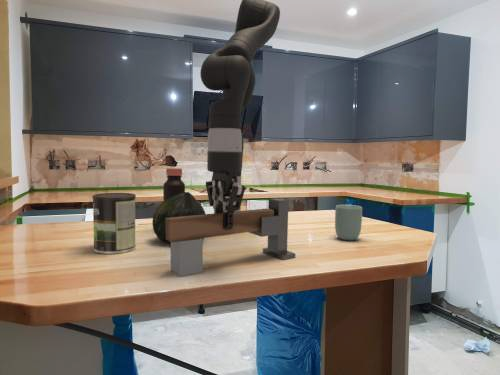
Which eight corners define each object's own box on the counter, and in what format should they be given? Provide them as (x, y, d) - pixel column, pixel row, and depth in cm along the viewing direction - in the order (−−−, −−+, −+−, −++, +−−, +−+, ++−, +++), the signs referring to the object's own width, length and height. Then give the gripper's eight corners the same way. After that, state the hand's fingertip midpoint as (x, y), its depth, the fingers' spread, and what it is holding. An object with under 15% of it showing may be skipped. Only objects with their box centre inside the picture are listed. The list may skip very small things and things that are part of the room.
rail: (165, 239, 76) (165, 218, 75) (266, 226, 90) (266, 208, 90) (171, 242, 73) (171, 220, 73) (273, 228, 88) (273, 210, 88)
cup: (362, 242, 106) (363, 208, 105) (334, 241, 107) (335, 207, 106) (359, 237, 113) (361, 205, 112) (333, 235, 115) (335, 204, 114)
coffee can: (93, 256, 88) (92, 197, 86) (93, 246, 97) (92, 193, 96) (138, 252, 92) (137, 196, 90) (134, 242, 101) (133, 192, 100)
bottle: (183, 227, 122) (183, 168, 121) (186, 232, 116) (186, 169, 114) (162, 228, 120) (162, 168, 118) (164, 233, 114) (164, 168, 112)
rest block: (170, 270, 78) (170, 237, 77) (192, 266, 81) (192, 235, 80) (180, 276, 74) (180, 242, 73) (202, 272, 77) (202, 239, 76)
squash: (149, 217, 110) (154, 183, 100) (197, 217, 116) (207, 184, 106) (152, 257, 101) (159, 224, 91) (205, 255, 107) (216, 223, 97)
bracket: (244, 255, 91) (245, 199, 89) (275, 250, 96) (276, 197, 95) (264, 263, 84) (265, 203, 83) (295, 257, 89) (297, 200, 88)
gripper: (257, 150, 77) (255, 231, 78) (223, 150, 88) (222, 221, 90) (226, 149, 72) (225, 235, 74) (195, 149, 84) (194, 224, 85)
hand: (223, 227), depth 82 cm, fingers closed on rail, 3 cm apart
